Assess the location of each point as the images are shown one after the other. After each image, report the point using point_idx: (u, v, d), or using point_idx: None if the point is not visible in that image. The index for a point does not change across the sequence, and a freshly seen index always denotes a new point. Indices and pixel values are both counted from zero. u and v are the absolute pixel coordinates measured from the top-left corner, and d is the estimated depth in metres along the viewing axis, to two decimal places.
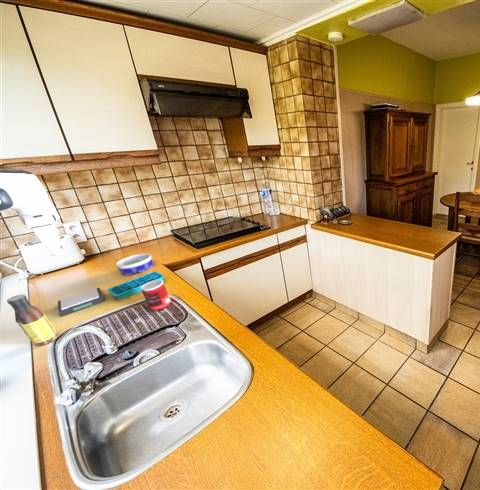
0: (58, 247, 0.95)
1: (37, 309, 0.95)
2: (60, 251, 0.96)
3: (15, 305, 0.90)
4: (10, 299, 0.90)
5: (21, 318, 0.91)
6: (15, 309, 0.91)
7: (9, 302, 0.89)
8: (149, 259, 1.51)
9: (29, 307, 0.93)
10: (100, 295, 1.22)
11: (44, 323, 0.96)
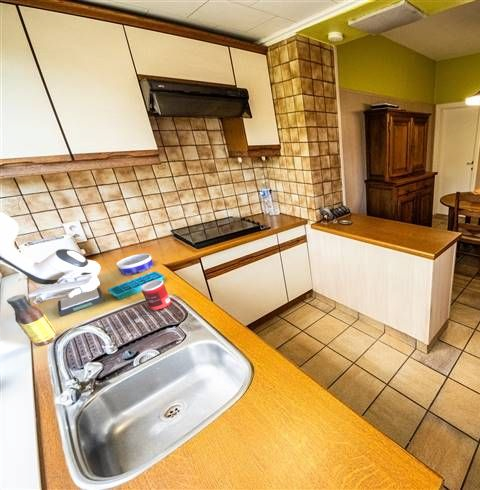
0: (78, 292, 1.10)
1: (37, 309, 0.95)
2: (73, 295, 1.08)
3: (15, 305, 0.90)
4: (10, 299, 0.90)
5: (21, 318, 0.91)
6: (15, 309, 0.91)
7: (9, 302, 0.89)
8: (149, 259, 1.51)
9: (29, 307, 0.93)
10: (100, 295, 1.22)
11: (44, 323, 0.96)
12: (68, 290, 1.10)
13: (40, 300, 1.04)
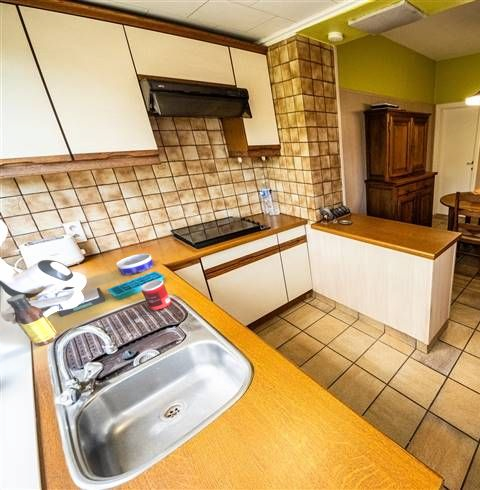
0: (55, 311, 0.99)
1: (37, 309, 0.95)
2: (48, 314, 0.97)
3: (15, 305, 0.90)
4: (10, 299, 0.90)
5: (21, 318, 0.91)
6: (15, 309, 0.91)
7: (9, 302, 0.89)
8: (149, 259, 1.51)
9: (29, 307, 0.93)
10: (100, 295, 1.22)
11: (44, 323, 0.96)
12: (47, 307, 0.99)
13: None
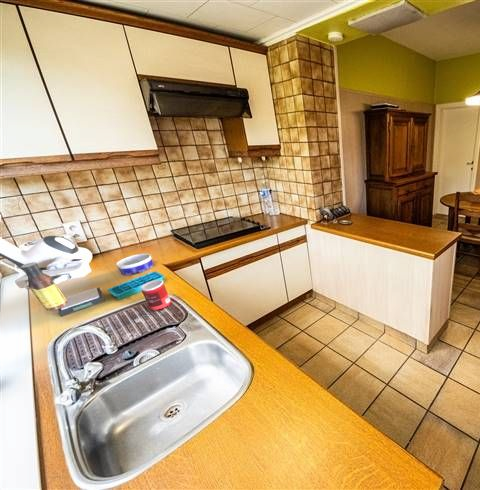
0: (64, 279, 1.06)
1: (48, 276, 1.02)
2: (59, 281, 1.05)
3: (28, 271, 0.98)
4: (24, 266, 0.97)
5: (34, 283, 0.99)
6: (28, 275, 0.98)
7: (23, 268, 0.97)
8: (149, 259, 1.51)
9: (41, 274, 1.01)
10: (100, 295, 1.22)
11: (55, 290, 1.04)
12: (57, 276, 1.07)
13: None
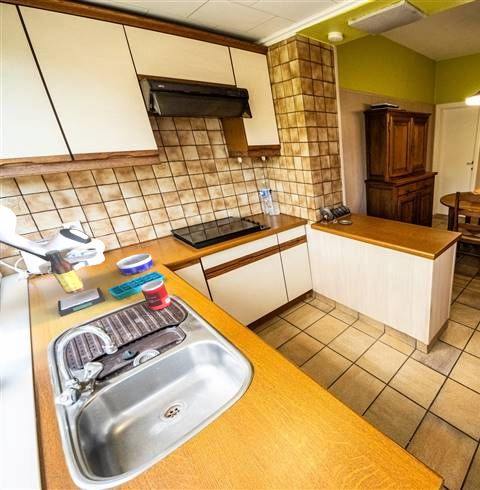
0: (82, 266, 1.18)
1: (68, 263, 1.14)
2: (77, 268, 1.16)
3: (51, 258, 1.10)
4: (47, 253, 1.09)
5: (56, 269, 1.11)
6: (51, 261, 1.10)
7: (47, 255, 1.09)
8: (149, 259, 1.51)
9: (62, 260, 1.12)
10: (100, 295, 1.22)
11: (74, 275, 1.16)
12: (76, 263, 1.19)
13: None
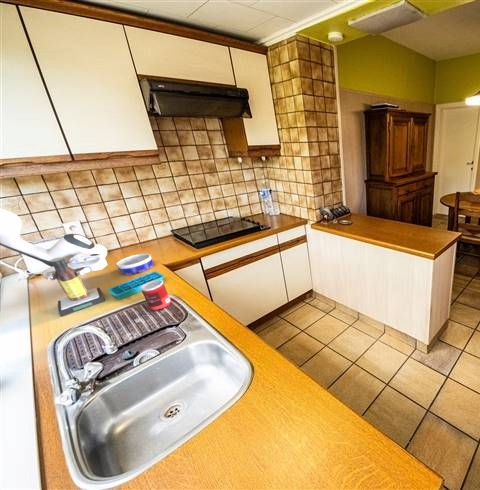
0: (88, 271, 1.20)
1: (73, 270, 1.16)
2: (83, 273, 1.18)
3: (56, 265, 1.11)
4: (52, 260, 1.11)
5: (61, 276, 1.12)
6: (56, 268, 1.12)
7: (52, 262, 1.10)
8: (149, 259, 1.51)
9: (67, 268, 1.14)
10: (100, 295, 1.22)
11: (78, 282, 1.17)
12: (79, 269, 1.20)
13: (54, 277, 1.14)
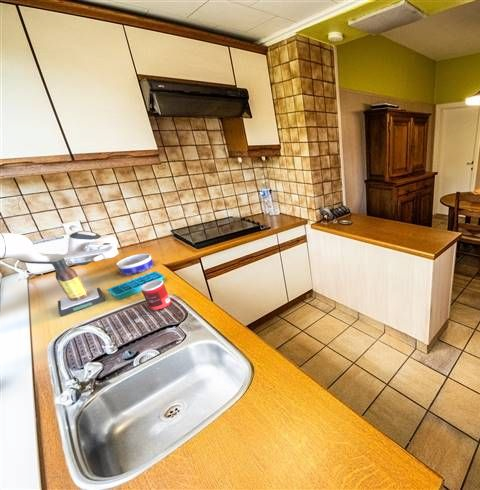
0: (101, 258, 1.30)
1: (72, 270, 1.16)
2: (97, 259, 1.28)
3: (56, 265, 1.11)
4: (52, 260, 1.11)
5: (61, 276, 1.12)
6: (56, 268, 1.12)
7: (52, 262, 1.10)
8: (149, 259, 1.51)
9: (66, 268, 1.14)
10: (100, 295, 1.22)
11: (78, 282, 1.17)
12: (93, 256, 1.30)
13: (70, 263, 1.24)
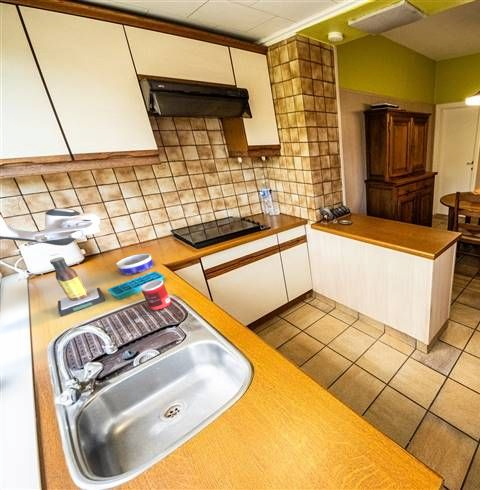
0: (80, 234, 1.20)
1: (72, 270, 1.16)
2: (75, 236, 1.18)
3: (56, 265, 1.11)
4: (52, 260, 1.11)
5: (61, 276, 1.12)
6: (56, 268, 1.12)
7: (52, 262, 1.10)
8: (149, 259, 1.51)
9: (66, 268, 1.14)
10: (100, 295, 1.22)
11: (78, 282, 1.17)
12: (70, 232, 1.20)
13: (45, 238, 1.14)
